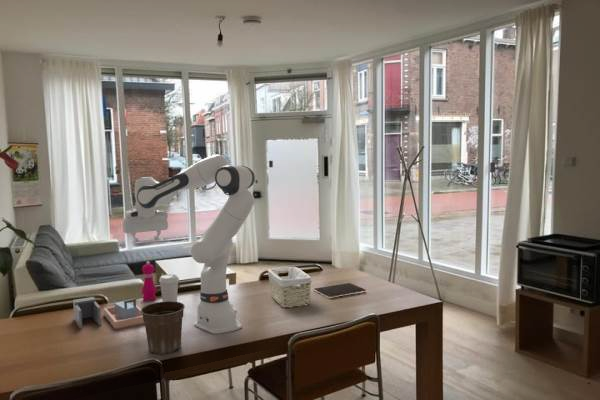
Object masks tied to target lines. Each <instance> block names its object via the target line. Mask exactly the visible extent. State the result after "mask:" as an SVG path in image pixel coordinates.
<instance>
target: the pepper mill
mask: <svg viewBox="0 0 600 400" xmlns="http://www.w3.org/2000/svg"><path fill="white" fill-rule="evenodd" d="M145 263H146V264H144V265H142V268H141V271H142V272H143V278H144V280H143V282H144V283H143V285H142V288H141V294H142V295H143V297H142V300H143V301H145V302H150V301H155V300H156V299H157V298H156V297H157V296H156V294H157V287H156V285H155V282H154V275H155V274H154V272H155V267H154V265H153V264H151V261H149V260H147V261H146V262H145Z"/></svg>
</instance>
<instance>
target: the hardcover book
mask: <svg viewBox="0 0 600 400" xmlns="http://www.w3.org/2000/svg"><path fill="white" fill-rule="evenodd" d="M314 289H315V290H317V291H318V292H320V293H322V294H324V295H326V296H328V297H335V296H339V295H345V294H350V293H356V292H361V291H365V292H366V291H367V290H366V288H362V287H360V286H358V285H356V284H354V283H351V282H346V283H342V284H341V283H340V284H333V285H327V286H322V287H316V288H314ZM314 289H313V290H314Z"/></svg>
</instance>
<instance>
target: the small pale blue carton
mask: <svg viewBox="0 0 600 400" xmlns="http://www.w3.org/2000/svg"><path fill="white" fill-rule="evenodd" d="M131 303H133V305H132V304H131ZM136 305H137V299H136V298H131V299H126V300H124V301H119V302H114V306H115V316H116V317H118V318H119V319H121V320H124V319H129V318H134V317H137V307H136Z"/></svg>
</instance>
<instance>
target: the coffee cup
mask: <svg viewBox="0 0 600 400" xmlns="http://www.w3.org/2000/svg"><path fill="white" fill-rule="evenodd" d="M179 281H180V278H179V276H178V274H175V273H171V274H170V273H169V274H163V275H161V276H160V278H159V280H158V282H159V284H160V290H161V291H160V292H161V302H166V301H175V302H178V290H179V289H178V287H179Z"/></svg>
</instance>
